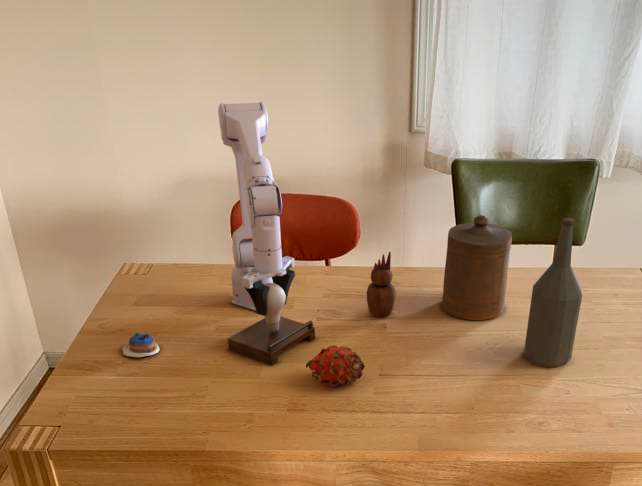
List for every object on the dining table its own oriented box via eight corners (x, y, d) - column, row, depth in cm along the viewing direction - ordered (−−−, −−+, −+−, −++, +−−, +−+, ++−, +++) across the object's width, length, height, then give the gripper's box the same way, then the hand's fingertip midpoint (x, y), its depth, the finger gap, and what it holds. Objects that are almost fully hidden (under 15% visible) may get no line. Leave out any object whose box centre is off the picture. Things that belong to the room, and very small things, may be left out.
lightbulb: (292, 328, 173) (289, 280, 167) (280, 340, 169) (277, 291, 162) (267, 323, 175) (263, 276, 168) (254, 335, 170) (250, 287, 164)
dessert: (167, 348, 169) (148, 331, 164) (149, 372, 168) (129, 357, 164) (148, 337, 174) (129, 321, 169) (130, 361, 173) (110, 346, 168)
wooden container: (514, 304, 193) (525, 213, 179) (486, 326, 182) (496, 232, 169) (460, 289, 199) (467, 201, 186) (430, 310, 189) (435, 218, 176)
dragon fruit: (368, 393, 160) (311, 395, 162) (370, 355, 163) (314, 358, 165) (359, 376, 152) (299, 378, 155) (361, 336, 155) (302, 339, 157)
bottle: (575, 352, 173) (600, 215, 155) (564, 372, 166) (589, 231, 148) (530, 342, 176) (549, 207, 159) (517, 361, 169) (535, 222, 151)
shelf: (228, 350, 171) (226, 331, 168) (273, 324, 181) (271, 307, 178) (271, 365, 166) (270, 346, 163) (315, 338, 176) (314, 320, 173)
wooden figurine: (396, 309, 189) (398, 248, 180) (394, 320, 184) (395, 258, 175) (368, 308, 189) (368, 246, 180) (365, 318, 184) (365, 256, 175)
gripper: (258, 262, 154) (264, 326, 162) (304, 240, 164) (307, 301, 172) (231, 254, 157) (237, 317, 165) (278, 233, 167) (281, 293, 175)
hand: (271, 308), depth 169 cm, fingers closed on lightbulb, 6 cm apart
